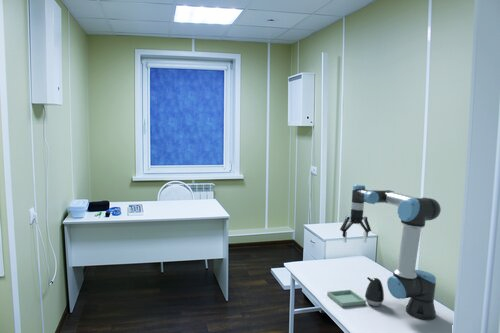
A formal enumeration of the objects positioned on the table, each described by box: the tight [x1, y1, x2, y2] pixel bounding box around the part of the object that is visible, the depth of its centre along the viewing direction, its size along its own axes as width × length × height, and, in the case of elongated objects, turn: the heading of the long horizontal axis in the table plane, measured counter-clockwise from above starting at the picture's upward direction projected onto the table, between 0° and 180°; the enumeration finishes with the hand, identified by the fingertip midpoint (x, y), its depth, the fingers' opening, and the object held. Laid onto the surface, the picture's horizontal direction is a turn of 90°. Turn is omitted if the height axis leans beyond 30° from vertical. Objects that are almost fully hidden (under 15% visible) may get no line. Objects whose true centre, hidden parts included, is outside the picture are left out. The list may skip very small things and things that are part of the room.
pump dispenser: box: [364, 276, 385, 307], centre depth 229 cm, size 10×10×15 cm
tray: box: [326, 289, 367, 308], centre depth 232 cm, size 16×16×2 cm
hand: (354, 241), depth 256 cm, fingers open, 13 cm apart
